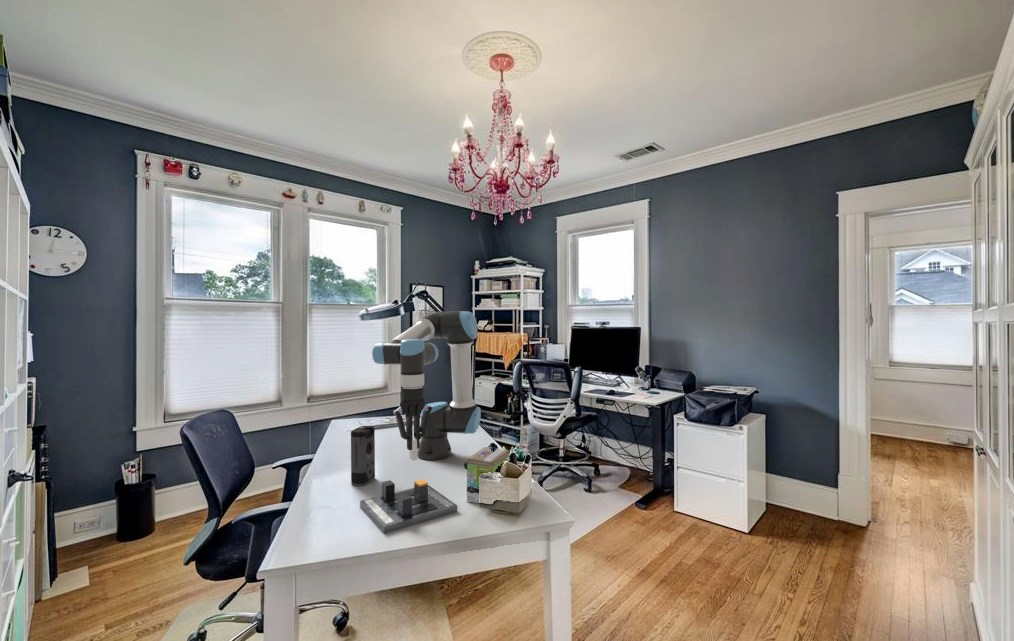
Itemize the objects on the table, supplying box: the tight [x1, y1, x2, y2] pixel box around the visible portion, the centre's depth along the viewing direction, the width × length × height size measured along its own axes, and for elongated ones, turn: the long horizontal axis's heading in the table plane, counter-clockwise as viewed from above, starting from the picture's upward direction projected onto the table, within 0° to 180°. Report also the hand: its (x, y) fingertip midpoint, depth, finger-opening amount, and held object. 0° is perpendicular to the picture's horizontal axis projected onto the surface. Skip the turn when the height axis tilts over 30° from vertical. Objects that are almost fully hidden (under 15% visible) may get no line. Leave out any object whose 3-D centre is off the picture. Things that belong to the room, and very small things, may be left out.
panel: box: [359, 479, 458, 535], centre depth 143 cm, size 24×22×7 cm
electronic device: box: [350, 425, 376, 487], centre depth 167 cm, size 9×6×20 cm, turn 168°
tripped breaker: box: [413, 478, 429, 502], centre depth 145 cm, size 3×4×6 cm
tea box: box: [466, 446, 510, 504], centre depth 153 cm, size 15×10×15 cm
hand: (413, 459), depth 144 cm, fingers closed
